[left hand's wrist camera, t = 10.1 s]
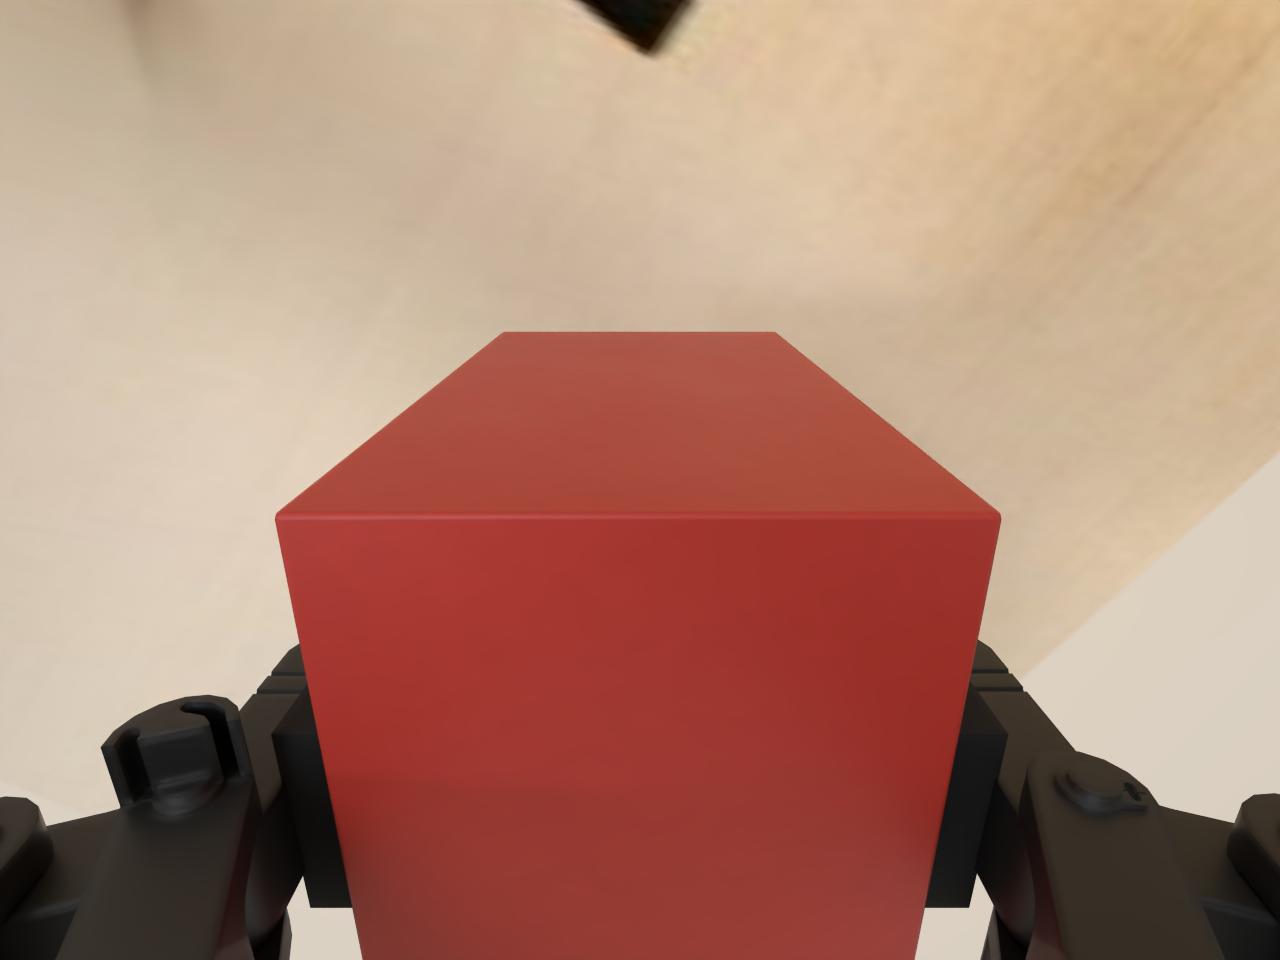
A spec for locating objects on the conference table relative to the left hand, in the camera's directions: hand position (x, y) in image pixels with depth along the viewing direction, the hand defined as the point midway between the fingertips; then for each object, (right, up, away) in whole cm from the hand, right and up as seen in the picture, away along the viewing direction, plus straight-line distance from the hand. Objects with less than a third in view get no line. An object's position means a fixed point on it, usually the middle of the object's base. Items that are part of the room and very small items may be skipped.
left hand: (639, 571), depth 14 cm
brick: (0, +2, +4) cm, 5 cm away
